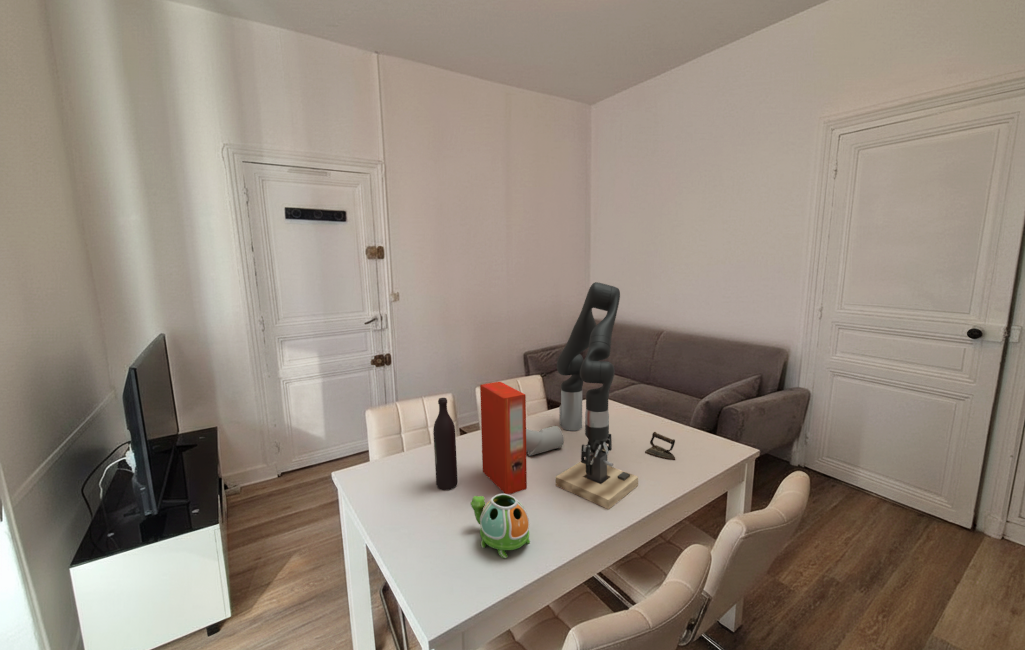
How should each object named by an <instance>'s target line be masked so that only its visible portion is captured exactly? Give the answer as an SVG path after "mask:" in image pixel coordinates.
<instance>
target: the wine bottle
mask: <svg viewBox="0 0 1025 650" xmlns="http://www.w3.org/2000/svg"><path fill="white" fill-rule="evenodd" d="M437 402H438V403H437V404H438V415H437V417H436V419H435V421H434V424H433V428H432V429H433V432H432V433H433V449H434V450H433V451H434V466H435V467H434V468H435V484H436V487H437V489H438V490H441V491H449V490H453V489H455V488H456V487H457V486H458V465H457V464H458V462H457V460H458V459H457V442H456V440H457V439H456V427H455V424H454V420H453V419H452V417H451V415H450V414H449V411H448V399H447V397H439V398H438V401H437Z"/></svg>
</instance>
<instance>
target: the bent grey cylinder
mask: <svg viewBox="0 0 1025 650" xmlns="http://www.w3.org/2000/svg"><path fill="white" fill-rule="evenodd" d="M564 441H565V438H564V434H563V432H562V429H561V428H560V426H558V425H553V426H549V427H545V428H542V429H539V431H537V430H532V429H527V428H526V453H527V456H528V457H530V456H533V455H537V454H538V455H539V454H542V453H544V452H548V451H551V450H555V449H559V448H562V447H563V446H564Z"/></svg>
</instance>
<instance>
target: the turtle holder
mask: <svg viewBox="0 0 1025 650" xmlns="http://www.w3.org/2000/svg"><path fill="white" fill-rule="evenodd" d="M470 506H471V509H472V510H473V512H474V516H475V520H476V521H477V523H478V524H479V525H480V530H479V535H480V538H481V542H480V546H481V548H483V549H485V548H486V547H487V546H489V547H490V548H493V549H496V550H497V553H498V555H499V557H500V558H501V559H507V558H508V554H507V552H506V551H513V550H518V549H519V548H521V547H522V546H524V545H526V544H530V543H531V541H530V539H529V538H530V530H529V529H530V518H529V515H528V512H527V510H526V508H525V506H524V505H523V504H522V503H521V502H520V501H519V500H518V499H517V498H516V497H514V496H513V495H512V494H509V495H508V494H504V493H497V494H496V495H493V496H492V497H491V498H490V500H489V501H487V503H486V502H485V497H484V496H483V495H479V496H478V495H474V496H473V497H472V499H471V502H470Z"/></svg>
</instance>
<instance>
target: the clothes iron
mask: <svg viewBox="0 0 1025 650" xmlns="http://www.w3.org/2000/svg"><path fill="white" fill-rule="evenodd" d="M651 435H652V437H651V438H650V441H649V444H650V446H651V447H649V448H647V449H646V450H645V451H644V453H645V454H647V455H649V456H652V457H655V458H659V459H663V460H667V461H676V457H675V455H674V454H673V453H672V450H673V449H674V447H675V443H676V439H672V438H669V437H668V436H665V435H663V434H660V433H657V432H656V431H653V432H652V434H651ZM655 438H656V439H658V440H661V441H664V442H666V443H669V444H671V445H670V447H669V449H666V448H664V447H661V446H659V445H657V444H655V443H654V440H655Z"/></svg>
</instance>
